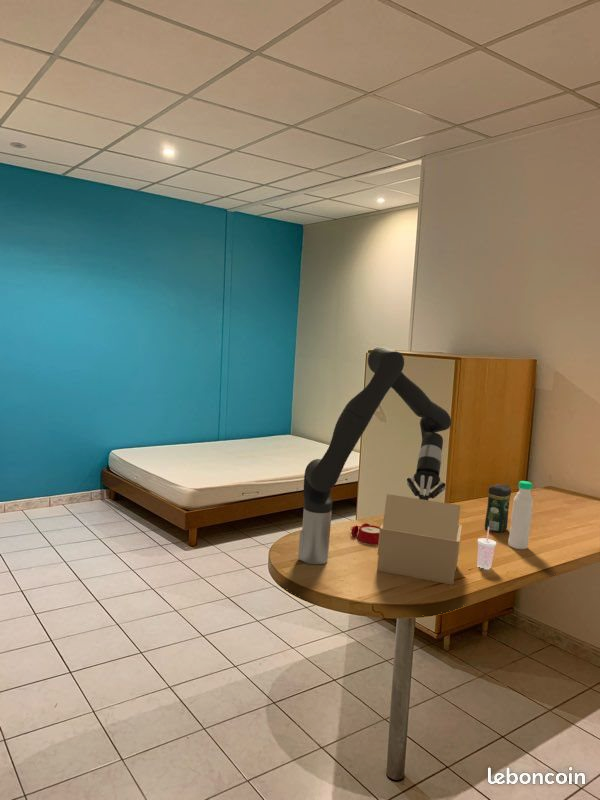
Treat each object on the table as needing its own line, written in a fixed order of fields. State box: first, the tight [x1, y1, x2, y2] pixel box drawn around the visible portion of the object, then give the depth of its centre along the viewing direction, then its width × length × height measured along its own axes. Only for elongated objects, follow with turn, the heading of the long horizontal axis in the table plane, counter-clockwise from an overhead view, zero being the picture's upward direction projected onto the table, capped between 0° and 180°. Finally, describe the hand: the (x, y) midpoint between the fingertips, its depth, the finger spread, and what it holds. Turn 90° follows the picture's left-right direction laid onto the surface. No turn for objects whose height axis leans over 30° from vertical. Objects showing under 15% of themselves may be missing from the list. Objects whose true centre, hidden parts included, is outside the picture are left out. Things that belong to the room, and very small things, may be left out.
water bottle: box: [507, 480, 534, 550], centre depth 229 cm, size 7×7×25 cm
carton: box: [376, 523, 463, 586], centre depth 201 cm, size 25×18×14 cm
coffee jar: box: [484, 483, 512, 533], centre depth 249 cm, size 10×8×19 cm
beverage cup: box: [476, 527, 497, 570], centre depth 207 cm, size 6×6×14 cm
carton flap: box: [382, 493, 462, 541], centre depth 192 cm, size 23×11×1 cm
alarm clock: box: [350, 522, 381, 545], centre depth 227 cm, size 10×6×15 cm
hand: (422, 507), depth 193 cm, fingers closed
